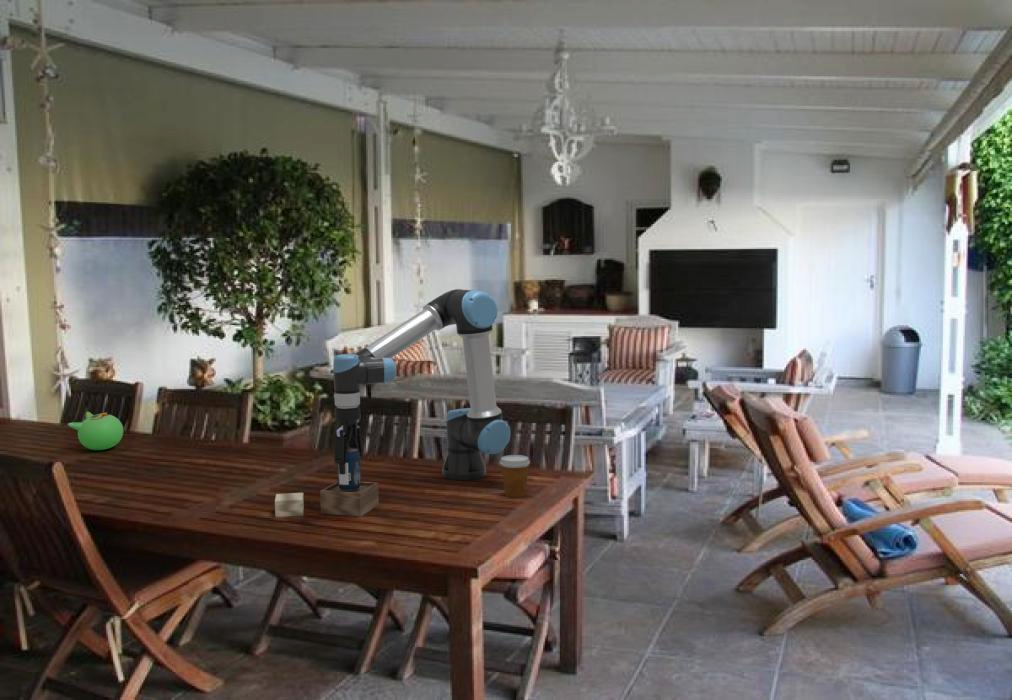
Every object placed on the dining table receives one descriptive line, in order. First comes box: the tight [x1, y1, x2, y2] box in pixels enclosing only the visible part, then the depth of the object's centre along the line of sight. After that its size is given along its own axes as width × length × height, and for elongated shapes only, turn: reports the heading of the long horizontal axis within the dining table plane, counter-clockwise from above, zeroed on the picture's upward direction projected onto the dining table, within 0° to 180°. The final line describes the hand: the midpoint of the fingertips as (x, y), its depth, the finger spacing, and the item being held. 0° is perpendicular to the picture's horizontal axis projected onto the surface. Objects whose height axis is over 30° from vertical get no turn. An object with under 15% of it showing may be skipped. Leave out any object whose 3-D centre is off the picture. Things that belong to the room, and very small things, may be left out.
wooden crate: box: [319, 480, 380, 518], centre depth 290 cm, size 13×13×7 cm
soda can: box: [336, 446, 362, 491], centre depth 289 cm, size 7×7×12 cm
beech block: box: [274, 492, 305, 518], centre depth 287 cm, size 8×8×5 cm
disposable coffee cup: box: [499, 454, 531, 498], centre depth 303 cm, size 10×10×12 cm
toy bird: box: [67, 411, 124, 451], centre depth 373 cm, size 18×17×15 cm
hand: (349, 480), depth 289 cm, fingers closed on soda can, 7 cm apart
